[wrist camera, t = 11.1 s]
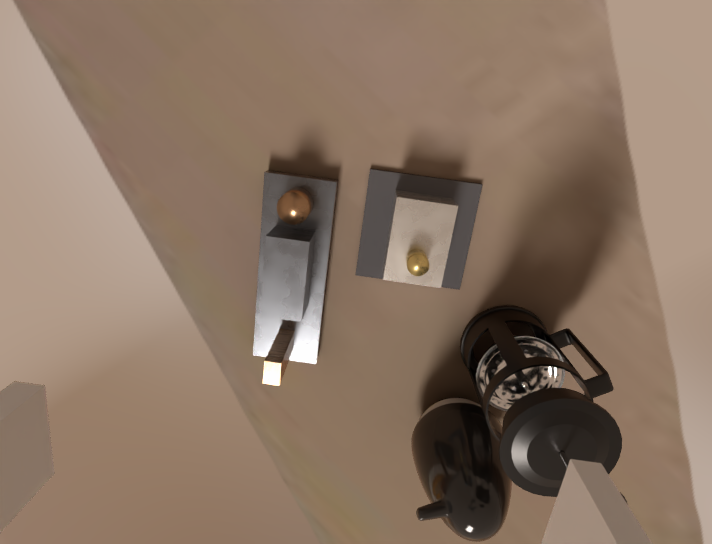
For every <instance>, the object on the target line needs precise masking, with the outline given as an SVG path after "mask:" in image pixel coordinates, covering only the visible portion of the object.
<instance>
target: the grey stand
mask: <svg viewBox="0 0 712 544" xmlns="http://www.w3.org/2000/svg"><path fill="white" fill-rule="evenodd" d="M337 185H338V180H334V179H327V178H320V177H312V176H305V175H298V174H291V173H283V172H276V171H269V170H268V171H266V172H265V174H264V190H263V206H262V222H261V237H260V253H259V269H258V285H257V301H256V317H255V332H254V348H253V355H256V356H263V357H266V359H265V361H264V373H263V383H264V384H272V385H279V386H280V383H281V380H282V377H283V375H284V372H285V369H286V367H287V364H288V361H289V360H292V361H299V362H306V363H313V364H316V362H317V358H318V351H319V342H320V333H321V324H322V316H323V307H324V298H325V290H326V281H327V272H328V264H329V255H330V246H331V238H332V229H333V220H334V211H335V203H336V194H337Z"/></svg>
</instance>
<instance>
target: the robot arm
mask: <svg viewBox="0 0 712 544" xmlns="http://www.w3.org/2000/svg"><path fill="white" fill-rule="evenodd" d="M53 475H54V465H53V456H52V447H51V437H50V428H49V419H48V409H47V399H46V390H45V385H38V384H32V383H24V382H17V381H14V382H13V383H11V384H10V385H9V386H7V387H6V388H5V389H3V390H2V391H0V533H1V532H2V531H3V530H4V529H5V527H7V525H8V524H9V523H10V522H11V521H12V520H13V519H14V518H15V517H16V516H17V514H18V513H19V512H20V511H21V510H22V509H23V508H24V507H25V506H26V504H27V503H28V502H29V501H30V500H31V499H32V498H33V497H34V496H35V495H36V493H37V492H38V491H39V490H40V489H41V488H42V487H43V486H44V485H45V484H46V482H47V481H48V480H49V479H50V478H51V477H52V476H53ZM542 544H652V542H651V541H650V539H649V538H648V536H647V534H646V533H645V531H644V530H643V528H642V527H641V525H640V523H639V522H638V520H637V519H636V517H635V516H634V514H633V512H632V511H631V509H630V508H629V506H628V505H627V503H626V501H625V500H624V498H623V497H622V495H621V494H620V492H619V490H618V489H617V487H616V486H615V484H614V483H613V481H612V479H611V478H610V476H609V475H608V473H607V472H606V470H605V468H604V467H603V465H602V464H601V463H596V462H589V461H582V460H575V459H570V461H569V464H568V467H567V470H566V473H565V476H564V479H563V482H562V485H561V488H560V490H559V493H558V496H557V499H556V502H555V505H554V508H553V511H552V514H551V516H550V519H549V522H548V525H547V528H546V531H545V534H544V537H543V540H542Z"/></svg>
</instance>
